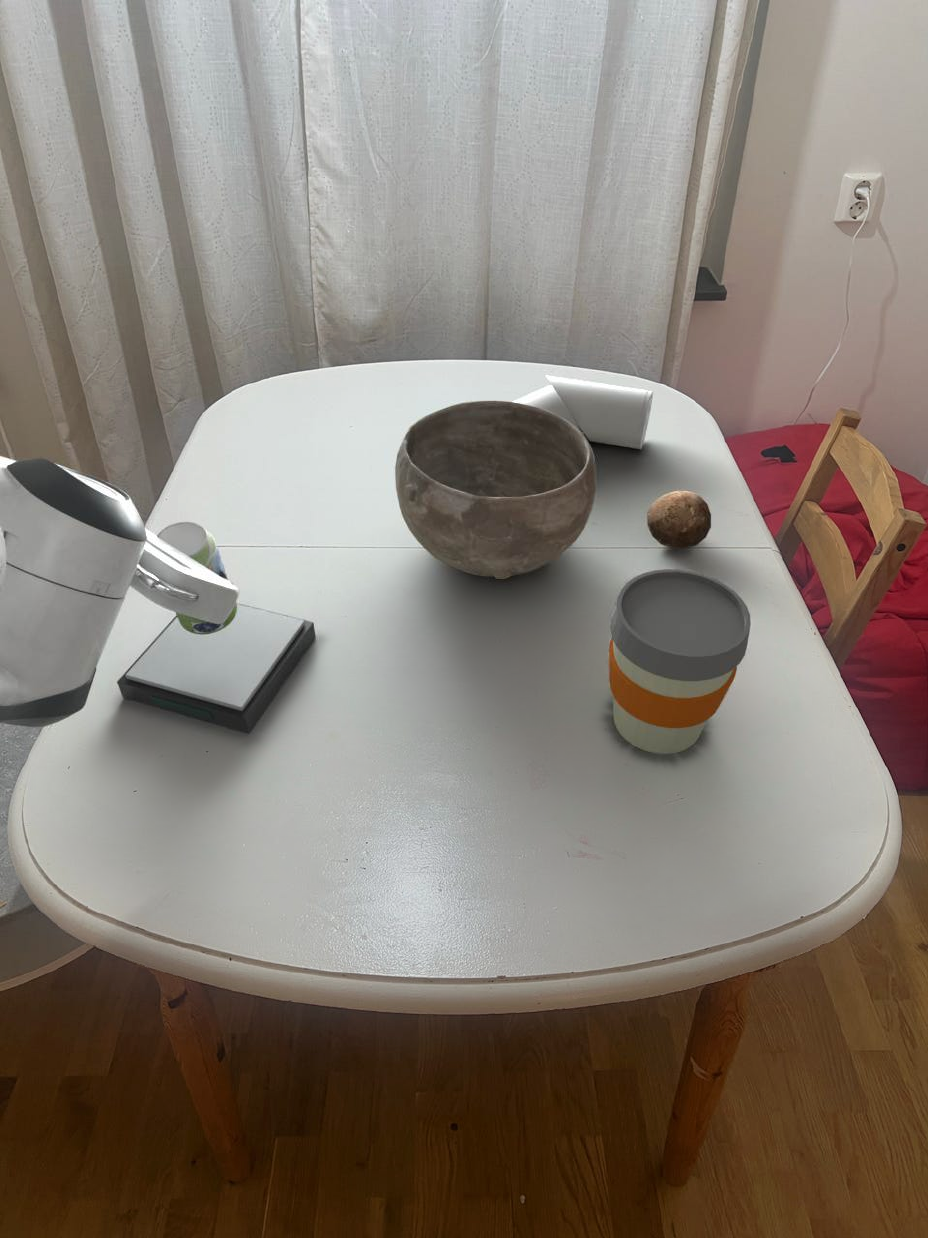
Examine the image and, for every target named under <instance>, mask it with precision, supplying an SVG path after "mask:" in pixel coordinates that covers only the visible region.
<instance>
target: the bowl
mask: <svg viewBox="0 0 928 1238" xmlns="http://www.w3.org/2000/svg"><path fill="white" fill-rule="evenodd" d="M395 459H396V461H395V466H394V474H395V475H394V479H395V480H394V481H395V490H396V495H397V501H398V505H399V510H400V513H401V515H402V518H403V520H404V522H405V525H406V526H407V528H408V530H409V532H410V533H411V534H412V536H413V537H414V538H415V540H416V541H417V542H418V543H419V544H420V545H421V546H422V547H423V549H425V550H426V552H428V553H429V554H430V555H431V556H433V557H434V558H435V559H437V560H438V561H440V562H442V563H443V564H445V565H446V566H449V567H450V568H452V569H456V570H459V571H461V572H464V573H467V574H470V575H473V576H479V577H491V578H493V577H494V578H495V579H499V580H506V579H508V578H510V577H512V576H517V575H518V576H519V575H522V574H527V573H529V572H533V571H535V570H539V569H540V568H543V567H545V566H546V565H548V564H550V563H553V562H554V561H555V560H556V559H558V558H559V557H560V556H561V555H562V554H563V553H564V552H565V551H566V550H568V549H569V548H570V547H571V546H572V545H573V544H574V543H575V542H576V541H577V540H578V538H579V537H580V536H581V534H582V532H583V531H584V530H585V528H586V525H587V523H588V520H589V518H590V515H591V513H592V509H593V505H594V502H595V496H596V489H597V464H596V463H597V462H596V459H595V455H594V452H593V448H592V446H591V444H590V443H589V440H588V438H587V437H586V435H585V434H584V433H581V432H580V431H579V430H578V429H577V428H576V427H575V426H574V425H572V424H571V423H570V422H568V421H567V420H565V419H563V418H562V417H560V416H558V415H556V414H554V413H552V412H550V411H547V410H543V409H540V408H537V407H533V406H530V405H525V404H521V403H516V402H514V401H506V400H474V401H465V402H460V403H457V404H453V405H450V406H447V407H445V408H441V409H438V410H436V411H434V412H432V413H430V414H427V415H425V416H423V417H422V418H420V419H418V420H417V421H415V422H414V423H413V424H411V426H410V427H409V428H408V429H407V431H406V433H405V434H404V436H403V439H402V441H401V443H400V446H399V448H398V451H397V454H396V458H395Z"/></svg>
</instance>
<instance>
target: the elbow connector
mask: <svg viewBox="0 0 928 1238" xmlns="http://www.w3.org/2000/svg"><path fill="white" fill-rule="evenodd" d="M545 377H546V378H547V381H549V383H550V384H549V385H547V386H545V387H543V388H540V389H538V390H536V391H534V392H531V393H529V394H527V395H524V396H523V397H520V398H518V399H516V400H514V401H513V402H516V403H521V404H525V405H530V406H533V407H537V408H540V409H543V410H547V411H550V412H552V413H554V414H556V415H558V416H560V417H562V418H563V419H565V420H567V421H568V422H570V423H571V424H572V425H574V426H575V427H576V428H577V429H578V430H579V431H580V432H581V433H582V434H584V436H585V437H586V438H587V440H588V441H590V442H594V443H599V444H606V445H611V446H618V447H624V448H631V449H637V450H642V449H643V446H644V442H645V438H646V435H647V430H648V426H649V421H650V415H651V409H652V404H653V396H654V392H653V390H646V389H641V388H632V387H626V386H620V385H613V384H606V383H599V382H593V381H587V380H586V381H585V380H578V379H572V378H566V377H565V378H564V377H558V376H553V375H545Z"/></svg>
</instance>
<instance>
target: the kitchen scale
mask: <svg viewBox="0 0 928 1238" xmlns="http://www.w3.org/2000/svg"><path fill="white" fill-rule="evenodd" d="M236 603H237V613H236V615H235V618H234V619H233V621H232V622H231V623H230V624H229V625H228V626H226V627H225V628H223V629H222V630H220V631H218V632H215V633H211V634H204V635H200V634H194V633H191V632H189V631H187V630H185V629H184V628H183V627H182V626H181V624H180V622H179V620H178V617H177V615H176V614H175V616H174V617H173V618H172V619H171V621H170V622H169V623H168V624H167V625H166V627H164V628H163V630H162V631H161V632H160V633H159V634H158V635H157V636H156V637H155V638H154V640H153V641H152V642H151V643H150V644H149V645H148V647H147V648H145V650H144V651H143V652H142V653H141V654H140V656H138V658H137V659H136V660H135V661H134V662H133V663H132V664H131V665H130V667H128V669H127V670H126V671H125V672H124V673H123V674H122V676H120V678H119V679H118V680H117V681H116V683H117V686H118V689H119V691H120V694H121V697H122V698H123V699H126V700H130V701H134V702H137V703H140V704H144V705H148V706H151V707H154V708H158V709H161V710H164V711H168V712H171V713H175V714H178V715H183V716H186V717H188V718H192V719H196V720H199V721H202V722H206V723H209V724H214V725H216V726H220V727H224V728H228V729H230V730H234V731H238V732H241V733H245V734H248V735H249V734H251V732H252V731H253V729H254V727H255V726H256V725H257V723H258V722H259V720H260V719H261V718H262V716H263V715H264V713H265V712H266V710H267V709H268V707H269V706H270V705H271V703H273V702H272V701H273V700H274V699H275V698H276V696H277V694H278V693H279V692H280V690H281V689H282V687H283V686H284V684H285V683H286V681H288V679H289V677H290V676H291V674H292V673H293V671H294V670H295V669H296V667H297V666H298V665H299V663H300V661H301V660H302V658H303V657H304V656H305V654H306V653H307V652H308V650H309V648H310V647H311V645H312V644H313V643H314V641H315V640H316V638H317V636H316V630H315V629H316V628H315V624H314V621H312V620H306V619H304V618H303V619H302V618H298V617H294V616H291V615H287V614H283V613H278V612H275V611H271V610H266V609H262V608H259V607H254V606H250V605H246V604H242V603H238V602H236Z"/></svg>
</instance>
